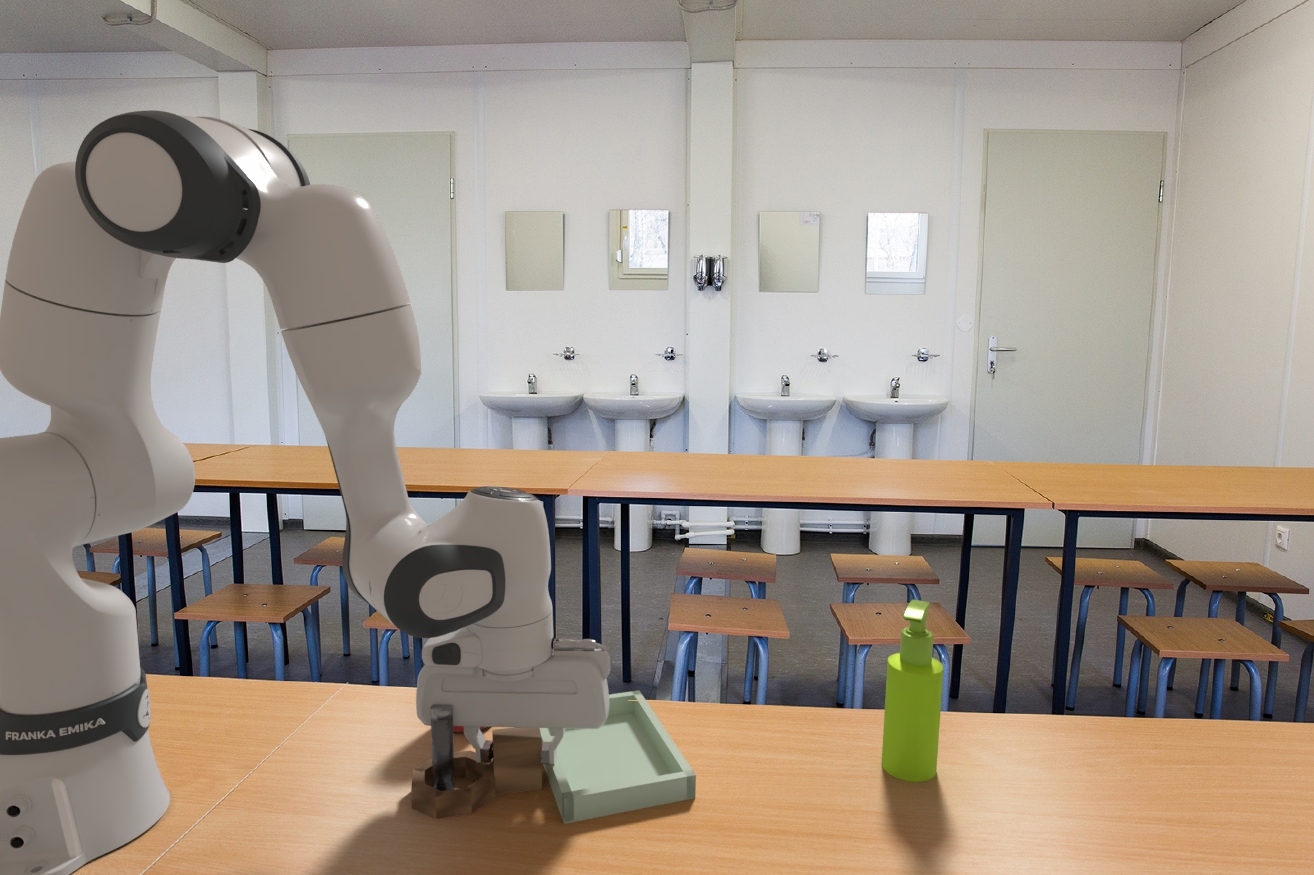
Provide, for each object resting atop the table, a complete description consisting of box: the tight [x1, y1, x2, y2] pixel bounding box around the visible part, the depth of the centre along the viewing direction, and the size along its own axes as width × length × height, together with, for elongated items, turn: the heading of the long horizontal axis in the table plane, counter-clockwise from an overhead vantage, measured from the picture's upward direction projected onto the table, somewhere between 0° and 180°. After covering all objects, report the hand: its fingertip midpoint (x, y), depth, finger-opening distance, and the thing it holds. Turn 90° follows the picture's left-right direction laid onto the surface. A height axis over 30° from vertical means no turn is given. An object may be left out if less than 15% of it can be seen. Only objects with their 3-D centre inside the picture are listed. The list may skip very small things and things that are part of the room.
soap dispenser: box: [881, 599, 944, 783], centre depth 86 cm, size 6×7×20 cm
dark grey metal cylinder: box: [430, 704, 456, 791], centre depth 82 cm, size 2×2×10 cm
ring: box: [410, 727, 543, 820], centre depth 83 cm, size 8×13×6 cm, turn 104°
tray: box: [540, 690, 697, 825], centre depth 89 cm, size 14×20×3 cm
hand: (516, 760), depth 84 cm, fingers closed on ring, 5 cm apart
